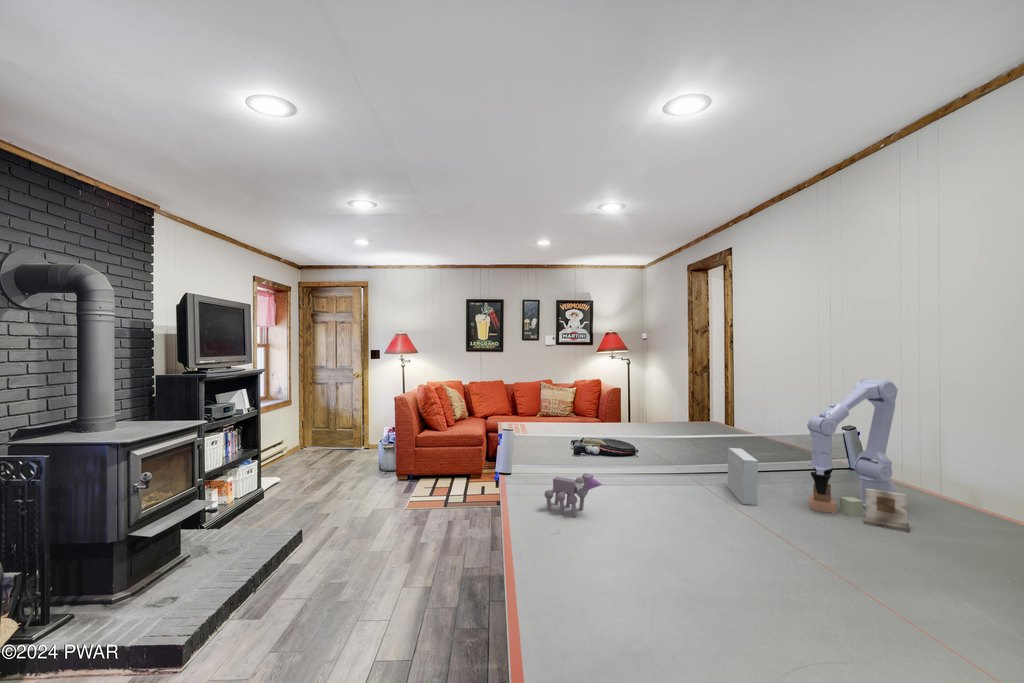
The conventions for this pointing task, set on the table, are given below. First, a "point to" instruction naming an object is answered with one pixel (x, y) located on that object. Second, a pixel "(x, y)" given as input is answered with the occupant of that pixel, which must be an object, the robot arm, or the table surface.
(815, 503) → the base block
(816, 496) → the walnut block
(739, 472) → the skincare box
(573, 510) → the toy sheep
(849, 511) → the sage block
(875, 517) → the card
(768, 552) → the table surface
